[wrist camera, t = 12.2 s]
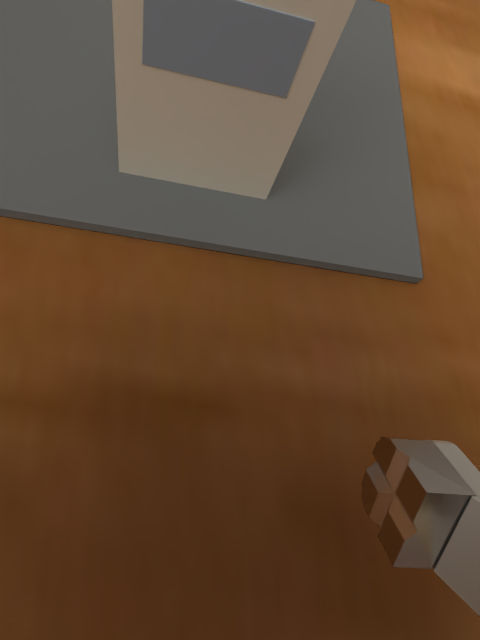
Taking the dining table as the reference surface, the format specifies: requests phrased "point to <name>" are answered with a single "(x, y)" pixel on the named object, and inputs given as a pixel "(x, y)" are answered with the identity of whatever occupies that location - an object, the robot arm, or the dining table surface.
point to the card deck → (217, 85)
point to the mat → (196, 202)
